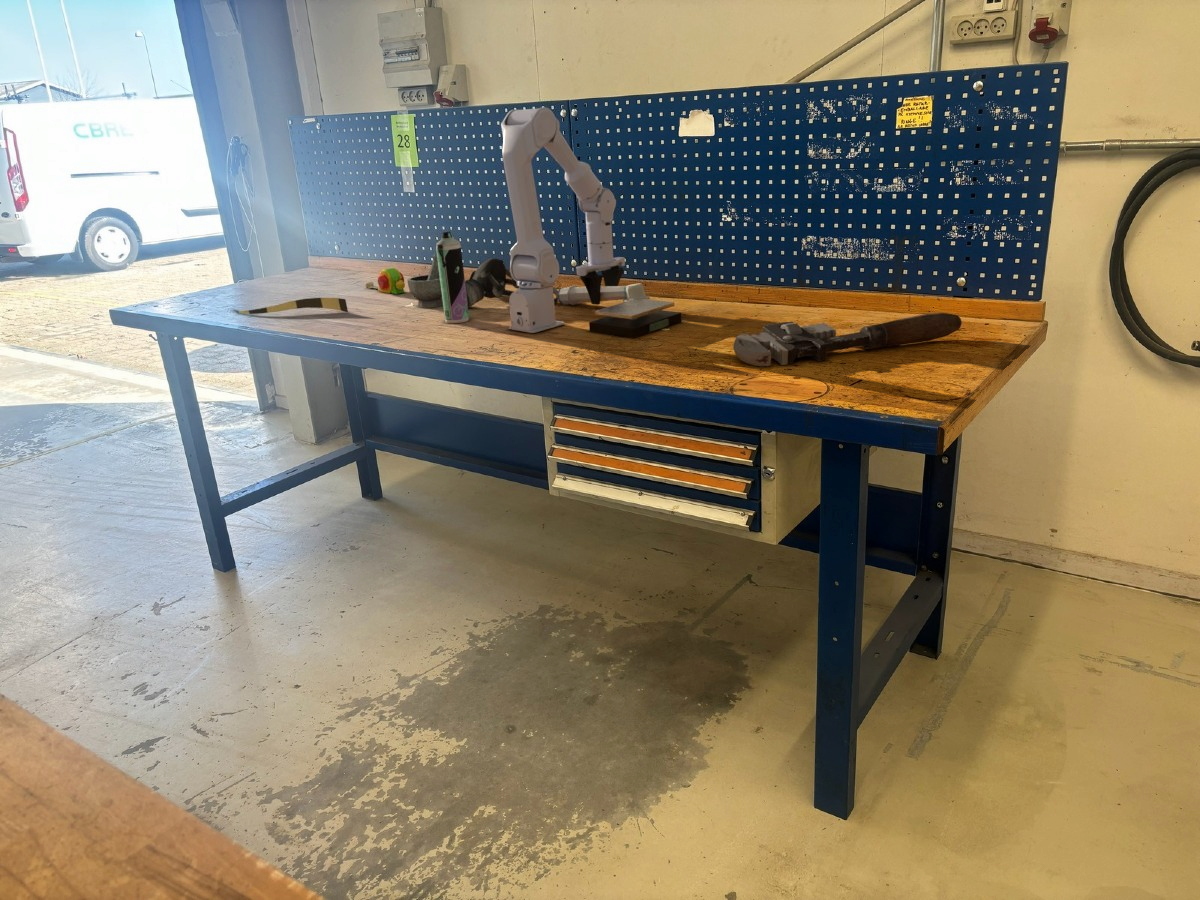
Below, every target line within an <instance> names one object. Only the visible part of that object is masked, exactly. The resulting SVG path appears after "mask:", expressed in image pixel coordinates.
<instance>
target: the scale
mask: <svg viewBox="0 0 1200 900" xmlns="http://www.w3.org/2000/svg"><path fill="white" fill-rule="evenodd" d="M681 322H682V312H678V311H671V310H665V309H663V310H660V311H657V312H654V313H651V314H648V315H644V316H641V317H638V318H635V319H625V318H618V317H611V316H604V317H602V318H599V319H595V320H592V321H589V322H588V325H589V326H588V327H589V332H591V333H598V334H605V335H611V336H617V337H624V338H629V339H634V338H638V337H641V336H645V335H647V334H650V333H653V332H656V331H658V330H662V329H665V328H668V327H670V326H673V325H676V324H679V323H681Z"/></svg>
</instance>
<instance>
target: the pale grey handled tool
mask: <svg viewBox="0 0 1200 900" xmlns="http://www.w3.org/2000/svg"><path fill="white" fill-rule="evenodd" d="M557 298H558V301H557V302H558V303H559V304H561V305H571V306H575V305H578V304H585V303H591V300H590V297H589V294H588V291H587V289H586V287H585V286H576V285H570V286H568V287H561V288H559V289H558V293H557ZM637 298H641V299H649V300H651V297H650V295H648V294H647V295H646V291H645V287H644V285H643V283H640V282H639V283H632V284H628V285H618V286H605V285H604V286H602V285H601V288H600V302H607V301H608V302H609V301H620V300H622V303H623V302H627V301H630V300H634V299H637Z"/></svg>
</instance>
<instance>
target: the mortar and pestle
mask: <svg viewBox="0 0 1200 900" xmlns="http://www.w3.org/2000/svg"><path fill="white" fill-rule="evenodd" d="M407 286H408V289H409V292H410V294H411V296H412V297H413V298H415V299H416V300H417V302H418V303H417V306H418V308H422V309H430V308H438V307H441V306H443V299H442V291H441V283H440V275H439V267H438V259H437V253H436V254H435V253H434V254H433V255H432V262H431V267H430V269H429V272H428V274H423V275H416V276H412V277H409V278H408V279H407Z"/></svg>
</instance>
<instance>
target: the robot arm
mask: <svg viewBox="0 0 1200 900" xmlns="http://www.w3.org/2000/svg"><path fill="white" fill-rule="evenodd" d="M560 124H561V123H560V121H559V119H558V118H557V117H556V116H555V114H554V112H553V111H552V110H551V109H550V108H549V107H545V106H544V107H543V106H542V107H539V108H526V109H512V110H509V111H508V113H506V115H505V117H504V118H503V120H502V121H501V123H500V127H501V133H502V139H503V143H502V151H501V152H502V153H501V155H502V159H503V160H502V161H503V166H504V173H505V179H506V184H507V190H508V196H509V203H510V207H511V212H512V218H513V225H514V229H515V235H516V243H515V244H514V245H513V246H512V247H511V249H510V250H509V254H510V263H509V271H510V273H511V276H512V278H513V279H514V280H515V281H516V282H517V286H519V288H517V290H515V291H514V292H513V293H512V294H511V295H510V296H509V300H508V305H509V314H510V315H509V316H510V324H511V326H509V327H508V329H509V330H512V331H517V332H524V333H529V334H530V333H531V334H536V333H539V332H543V331H547V330H549V329H553V328H557V327H559V326H563V325H565V321H560V320H556V308H555V304H554V299H555V296H554V295H555V294H554V293H553V287H554V286H555V285H556V282H557V280H558V278H559V276H560V264H559V261H558V259H557V257H556V256H555V252H554V247H553V246H552V245H551V244H550V243H549V242H548V241H547V240H546V239H545V238H544V233H543V232H544V231H543V226H542V221H541V215H540V209H539V201H538V194H537V189H536V183H535V178H534V171H533V164H532V160H533V158H534V156H535V155H536V153H538V152H539V151H540V150H541V149H542V148H544V149H545V150H546V151H547V152H548V153H549V155H550V156H551V157H552V158H553V159H554V160H555V162H557V164H558V165H559V166H560V167H561V168H562V169H563V170H564V180H565V182H566V183H567V185H568V186H569V187H570V188H571V190H572V191H573V192H574V194H575V195H576V198H577V200H578V206H579V209H580V211H582V213H584V214H585V227H586V242H587V244H586V245H587V257H588V259H587V260H588V262H586V263H584V264H581V265H579V266H576V276H579V279H580V280H581V282H582V283H583V286H584V287H586V289H587V291H588V294H589V297H590V300H591V302H590V303H591V304H592V305H595V306H596V305H598V306H599V305H600V304H601V301H600V288H601V287H602V281H603V282H604V286H619V284H620V281H621V278H622V276H623V274H624V273H625V272H624V271H625V270H624V268H623V267H625V266H626V258H625V257H624V256H623V257H622V256H617V257H614V247H613V228H612V227H613V226H612V225H613V224H612V222H613V220H614V211H615V209H616V206H617V199H616V198H615V196H614V193H613V192H612V191H611V189H610V188H607V187H604V186H603V185H602V183H601V180H599V179H598V177H597V176H596V175H595V174H594V172H593V170H592V169H591V168H592V167H591V165H590V164H589V163H587V162H585V161H579V160H578V159H577V157H576V155H575V153H574V152H573V150H572V148H571V147H570V145H569V143H568V142H567V140H566V139H565V137H564V136H563V134H562V132H561V131H560V127H561V126H560ZM598 272H600V273H601V274H598ZM512 278H511V279H512Z"/></svg>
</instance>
